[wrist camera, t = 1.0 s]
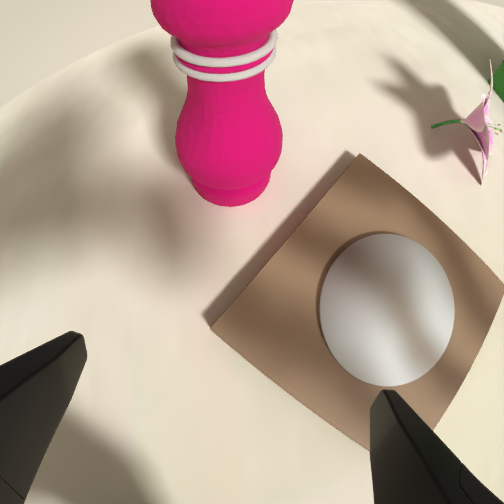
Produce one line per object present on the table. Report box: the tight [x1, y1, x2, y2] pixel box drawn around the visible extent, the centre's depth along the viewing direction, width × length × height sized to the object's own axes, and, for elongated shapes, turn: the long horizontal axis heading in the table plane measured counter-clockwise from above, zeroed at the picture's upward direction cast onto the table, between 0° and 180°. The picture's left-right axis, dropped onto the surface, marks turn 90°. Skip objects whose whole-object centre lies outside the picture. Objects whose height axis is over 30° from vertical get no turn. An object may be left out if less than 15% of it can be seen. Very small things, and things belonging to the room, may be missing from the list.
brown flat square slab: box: [210, 154, 504, 451], centre depth 22 cm, size 18×18×2 cm
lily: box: [431, 61, 502, 184], centre depth 24 cm, size 12×12×10 cm
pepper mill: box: [151, 0, 293, 207], centre depth 16 cm, size 7×7×20 cm
